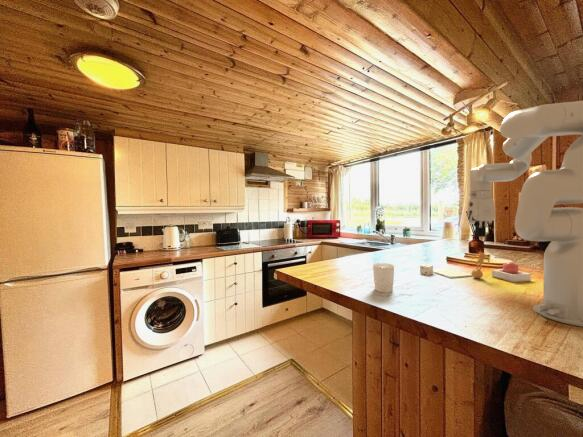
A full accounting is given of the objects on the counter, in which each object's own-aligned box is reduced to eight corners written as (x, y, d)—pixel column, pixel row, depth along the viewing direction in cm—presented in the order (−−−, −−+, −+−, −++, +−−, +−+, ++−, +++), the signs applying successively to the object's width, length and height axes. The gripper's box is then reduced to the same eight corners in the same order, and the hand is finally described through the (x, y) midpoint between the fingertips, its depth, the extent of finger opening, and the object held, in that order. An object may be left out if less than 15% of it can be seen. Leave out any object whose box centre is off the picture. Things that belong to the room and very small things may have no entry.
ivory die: (427, 275, 113) (427, 266, 113) (419, 273, 117) (419, 264, 116) (432, 273, 115) (432, 265, 115) (424, 272, 119) (424, 263, 119)
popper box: (513, 282, 99) (513, 275, 99) (491, 276, 108) (491, 270, 108) (530, 280, 100) (530, 273, 100) (507, 275, 109) (507, 268, 109)
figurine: (465, 276, 110) (465, 250, 109) (476, 275, 110) (476, 249, 110) (481, 281, 101) (481, 253, 101) (493, 280, 102) (493, 253, 102)
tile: (450, 278, 107) (450, 276, 107) (430, 271, 119) (430, 270, 119) (472, 276, 109) (472, 274, 109) (451, 269, 121) (451, 268, 121)
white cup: (373, 292, 92) (373, 267, 92) (373, 286, 99) (372, 262, 99) (395, 294, 90) (395, 268, 89) (393, 287, 97) (392, 263, 97)
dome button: (512, 275, 101) (512, 263, 101) (499, 272, 106) (499, 261, 106) (521, 274, 102) (521, 263, 102) (509, 271, 107) (509, 260, 107)
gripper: (473, 195, 100) (473, 238, 100) (503, 194, 102) (503, 236, 103) (458, 196, 107) (458, 236, 108) (486, 195, 109) (486, 234, 110)
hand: (480, 236), depth 105 cm, fingers closed
